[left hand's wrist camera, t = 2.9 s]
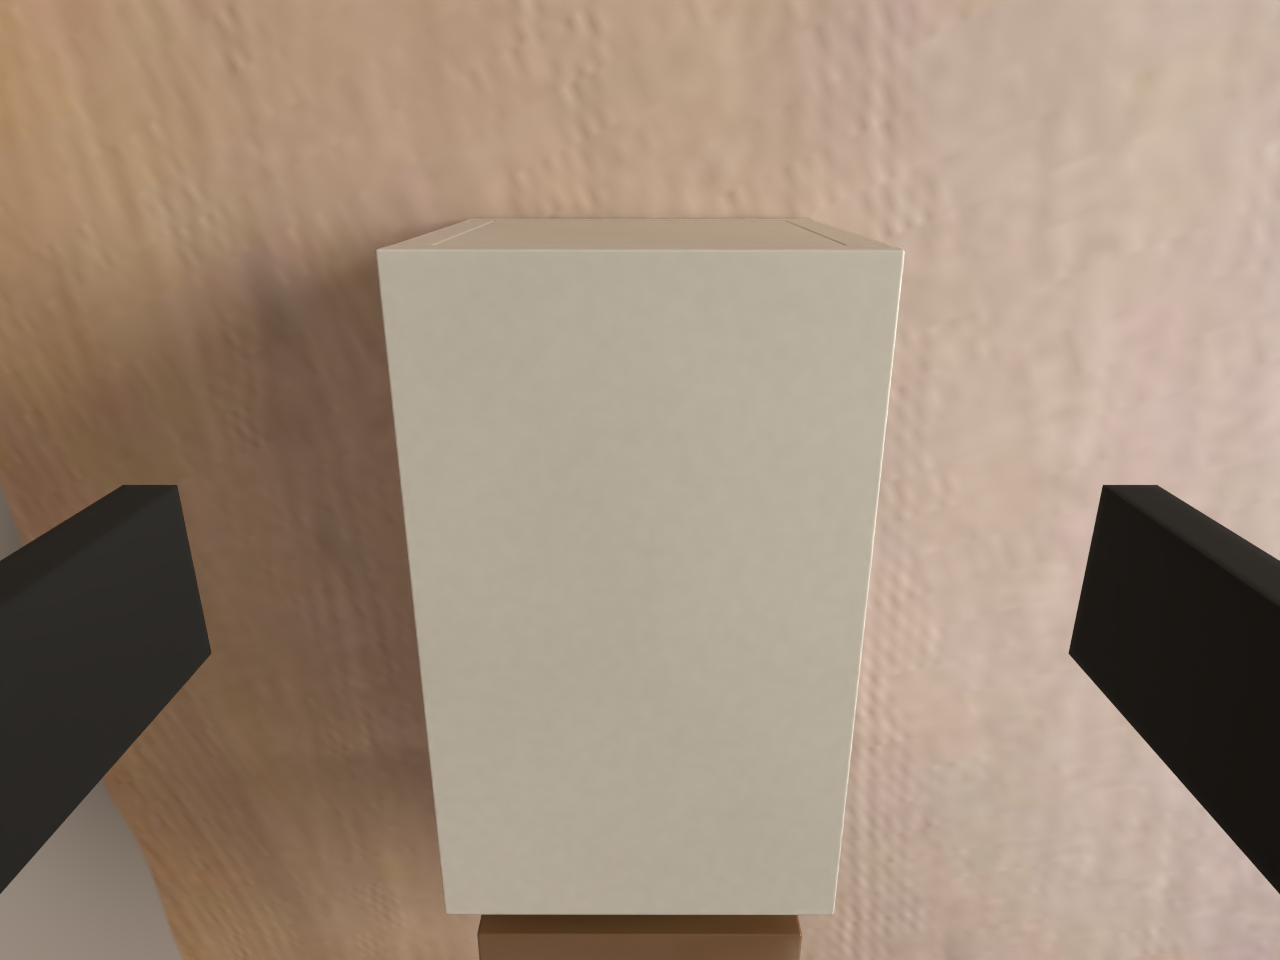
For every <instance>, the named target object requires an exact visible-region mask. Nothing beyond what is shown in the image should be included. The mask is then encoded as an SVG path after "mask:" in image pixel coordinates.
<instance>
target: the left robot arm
mask: <svg viewBox="0 0 1280 960" xmlns="http://www.w3.org/2000/svg"><path fill="white" fill-rule="evenodd" d="M210 654H211V649H210V644H209V639H208V635H207V630H206V625H205V620H204V615H203V610H202V605H201V600H200V595H199V590H198V585H197V581H196V576H195V571H194V566H193V561H192V556H191V551H190V546H189V541H188V536H187V532H186V527H185V522H184V517H183V512H182V507H181V502H180V497H179V492H178V487H177V485H122V486H121V487H119V488H117V489H116V490H114V491H113V492H111V493H109V494H108V495H106V496H105V497H103V498H101V499H100V500H98V501H96V502H95V503H93V504H92V505H90V506H88V507H87V508H85V509H84V510H82V511H80V512H79V513H77V514H75V515H74V516H72V517H71V518H69V519H67V520H66V521H64V522H63V523H61V524H59V525H58V526H56V527H54V528H53V529H51V530H50V531H48V532H46V533H45V534H43V535H41V536H40V537H38V538H37V539H35V540H33V541H32V542H30V543H29V544H27V545H25V546H24V547H22V548H20V549H19V550H17V551H16V552H14V553H12V554H11V555H9V556H8V557H6V558H4V559H3V560H1V561H0V894H1V892H2V891H3V890H4V889H5V888H6V887H7V886H8V885H9V883H10V882H11V881H12V880H13V879H14V878H15V877H16V875H17V874H18V873H19V872H20V871H21V870H22V869H23V867H24V866H25V865H26V864H27V863H28V862H29V861H30V859H31V858H32V857H33V856H34V855H35V854H36V853H37V851H38V850H39V849H40V848H41V847H42V846H43V845H44V843H45V842H46V841H47V840H48V839H49V838H50V837H51V836H52V834H53V833H54V832H55V831H56V830H57V829H58V827H59V826H60V825H61V824H62V823H63V822H64V821H65V820H66V818H67V817H68V816H69V815H70V814H71V813H72V812H73V810H74V809H75V808H76V807H77V806H78V805H79V804H80V803H81V801H82V800H83V799H84V798H85V797H86V796H87V795H88V793H89V792H90V791H91V790H92V789H93V788H94V787H95V785H96V784H97V783H98V782H99V781H100V780H101V779H102V777H103V776H104V775H105V774H106V773H107V772H108V771H109V770H110V768H111V767H112V766H113V765H114V764H115V763H116V762H117V760H118V759H119V758H120V757H121V756H122V755H123V754H124V752H125V751H126V750H127V749H128V748H129V747H130V746H131V744H132V743H133V742H134V741H135V740H136V739H137V738H138V736H139V735H140V734H141V733H142V732H143V731H144V730H145V729H146V727H147V726H148V725H149V724H150V723H151V722H152V721H153V719H154V718H155V717H156V716H157V715H158V714H159V713H160V711H161V710H162V709H163V708H164V707H165V706H166V705H167V703H168V702H169V701H170V700H171V699H172V698H173V697H174V695H175V694H176V693H177V692H178V691H179V690H180V689H181V688H182V686H183V685H184V684H185V683H186V682H187V681H188V680H189V678H190V677H191V676H192V675H193V674H194V673H195V672H196V670H197V669H198V668H199V667H200V666H201V665H202V664H203V662H204V661H205V660H206V659H207V658H208V657H209V656H210ZM1069 654H1070V656H1071V657H1072V658H1073V659H1074V660H1075V661H1076V662H1077V664H1078V665H1079V666H1080V667H1081V668H1082V669H1083V670H1084V672H1085V673H1086V674H1087V675H1088V676H1089V677H1090V678H1091V680H1092V681H1093V682H1094V683H1095V684H1096V685H1097V686H1098V688H1099V689H1100V690H1101V691H1102V692H1103V693H1104V694H1105V695H1106V697H1107V698H1108V699H1109V700H1110V701H1111V702H1112V703H1113V705H1114V706H1115V707H1116V708H1117V709H1118V710H1119V711H1120V713H1121V714H1122V715H1123V716H1124V717H1125V718H1126V719H1127V721H1128V722H1129V723H1130V724H1131V725H1132V726H1133V727H1134V729H1135V730H1136V731H1137V732H1138V733H1139V734H1140V735H1141V736H1142V738H1143V739H1144V740H1145V741H1146V742H1147V743H1148V744H1149V746H1150V747H1151V748H1152V749H1153V750H1154V751H1155V752H1156V754H1157V755H1158V756H1159V757H1160V758H1161V759H1162V760H1163V762H1164V763H1165V764H1166V765H1167V766H1168V767H1169V768H1170V770H1171V771H1172V772H1173V773H1174V774H1175V775H1176V776H1177V777H1178V779H1179V780H1180V781H1181V782H1182V783H1183V784H1184V785H1185V787H1186V788H1187V789H1188V790H1189V791H1190V792H1191V793H1192V795H1193V796H1194V797H1195V798H1196V799H1197V800H1198V801H1199V803H1200V804H1201V805H1202V806H1203V807H1204V808H1205V809H1206V811H1207V812H1208V813H1209V814H1210V815H1211V816H1212V817H1213V818H1214V820H1215V821H1216V822H1217V823H1218V824H1219V825H1220V826H1221V828H1222V829H1223V830H1224V831H1225V832H1226V833H1227V834H1228V836H1229V837H1230V838H1231V839H1232V840H1233V841H1234V842H1235V844H1236V845H1237V846H1238V847H1239V848H1240V849H1241V850H1242V851H1243V853H1244V854H1245V855H1246V856H1247V857H1248V858H1249V859H1250V861H1251V862H1252V863H1253V864H1254V865H1255V866H1256V867H1257V869H1258V870H1259V871H1260V872H1261V873H1262V874H1263V875H1264V877H1265V878H1266V879H1267V880H1268V881H1269V882H1270V883H1271V885H1272V886H1273V887H1274V888H1275V889H1276V890H1277V891H1278V892H1279V894H1280V561H1279V560H1277V559H1276V558H1274V557H1272V556H1271V555H1269V554H1268V553H1266V552H1264V551H1263V550H1261V549H1260V548H1258V547H1256V546H1255V545H1253V544H1251V543H1250V542H1248V541H1247V540H1245V539H1243V538H1242V537H1240V536H1239V535H1237V534H1235V533H1234V532H1232V531H1230V530H1229V529H1227V528H1226V527H1224V526H1222V525H1221V524H1219V523H1217V522H1216V521H1214V520H1213V519H1211V518H1209V517H1208V516H1206V515H1205V514H1203V513H1201V512H1200V511H1198V510H1196V509H1195V508H1193V507H1192V506H1190V505H1188V504H1187V503H1185V502H1184V501H1182V500H1180V499H1179V498H1177V497H1175V496H1174V495H1172V494H1171V493H1169V492H1167V491H1166V490H1164V489H1163V488H1161V487H1159V486H1158V485H1103V487H1102V492H1101V497H1100V502H1099V507H1098V512H1097V517H1096V522H1095V527H1094V532H1093V536H1092V541H1091V546H1090V551H1089V556H1088V561H1087V566H1086V571H1085V576H1084V581H1083V585H1082V590H1081V595H1080V600H1079V605H1078V610H1077V615H1076V620H1075V625H1074V630H1073V635H1072V639H1071V644H1070V649H1069Z"/></svg>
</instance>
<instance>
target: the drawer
mask: <svg viewBox="0 0 1280 960" xmlns="http://www.w3.org/2000/svg"><path fill="white" fill-rule="evenodd" d="M477 936H478V947H479V958H480V960H800V951H801V940H802V933H801V928H800V923H799V919H798V915H505V914H482V915H481V920H480V925H479V929H478V934H477Z"/></svg>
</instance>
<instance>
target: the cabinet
mask: <svg viewBox="0 0 1280 960" xmlns="http://www.w3.org/2000/svg"><path fill="white" fill-rule="evenodd" d="M904 253H905V252H904V250H902V249H900V248H897V247H894V246H890V245H888V244H885V243H882V242H879V241H876V240H873V239H870V238H867V237H864V236H861V235H858V234H855V233H852V232H849V231H846V230H843V229H840V228H837V227H834V226H830V225H827V224H824V223H821V222H818V221H815V220H812V219H622V218H471V219H468V220H465V221H463V222H460V223H457V224H454V225H451V226H448V227H445V228H442V229H439V230H436V231H433V232H429V233H426V234H423V235H420V236H417V237H414V238H411V239H408V240H405V241H402V242H399V243H396V244H393V245H389V246H386V247H383V248H379V249H377V250H376V261H377V270H378V280H379V289H380V299H381V308H382V317H383V327H384V336H385V346H386V355H387V365H388V374H389V384H390V393H391V403H392V412H393V421H394V431H395V440H396V450H397V459H398V469H399V478H400V488H401V497H402V506H403V516H404V525H405V535H406V544H407V554H408V563H409V573H410V582H411V592H412V601H413V610H414V620H415V629H416V639H417V648H418V658H419V667H420V677H421V686H422V695H423V705H424V714H425V724H426V733H427V743H428V752H429V762H430V771H431V781H432V790H433V799H434V809H435V818H436V828H437V837H438V847H439V856H440V866H441V875H442V884H443V894H444V903H445V912H446V914H505V915H833V914H834V907H835V897H836V888H837V879H838V869H839V860H840V851H841V841H842V832H843V823H844V813H845V804H846V795H847V785H848V776H849V767H850V757H851V748H852V739H853V729H854V720H855V711H856V701H857V692H858V683H859V673H860V664H861V655H862V645H863V636H864V627H865V617H866V608H867V599H868V589H869V580H870V571H871V561H872V552H873V543H874V533H875V524H876V515H877V505H878V496H879V487H880V477H881V468H882V459H883V449H884V440H885V431H886V421H887V412H888V403H889V393H890V384H891V375H892V365H893V356H894V347H895V337H896V328H897V319H898V309H899V300H900V291H901V281H902V272H903V263H904Z"/></svg>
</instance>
